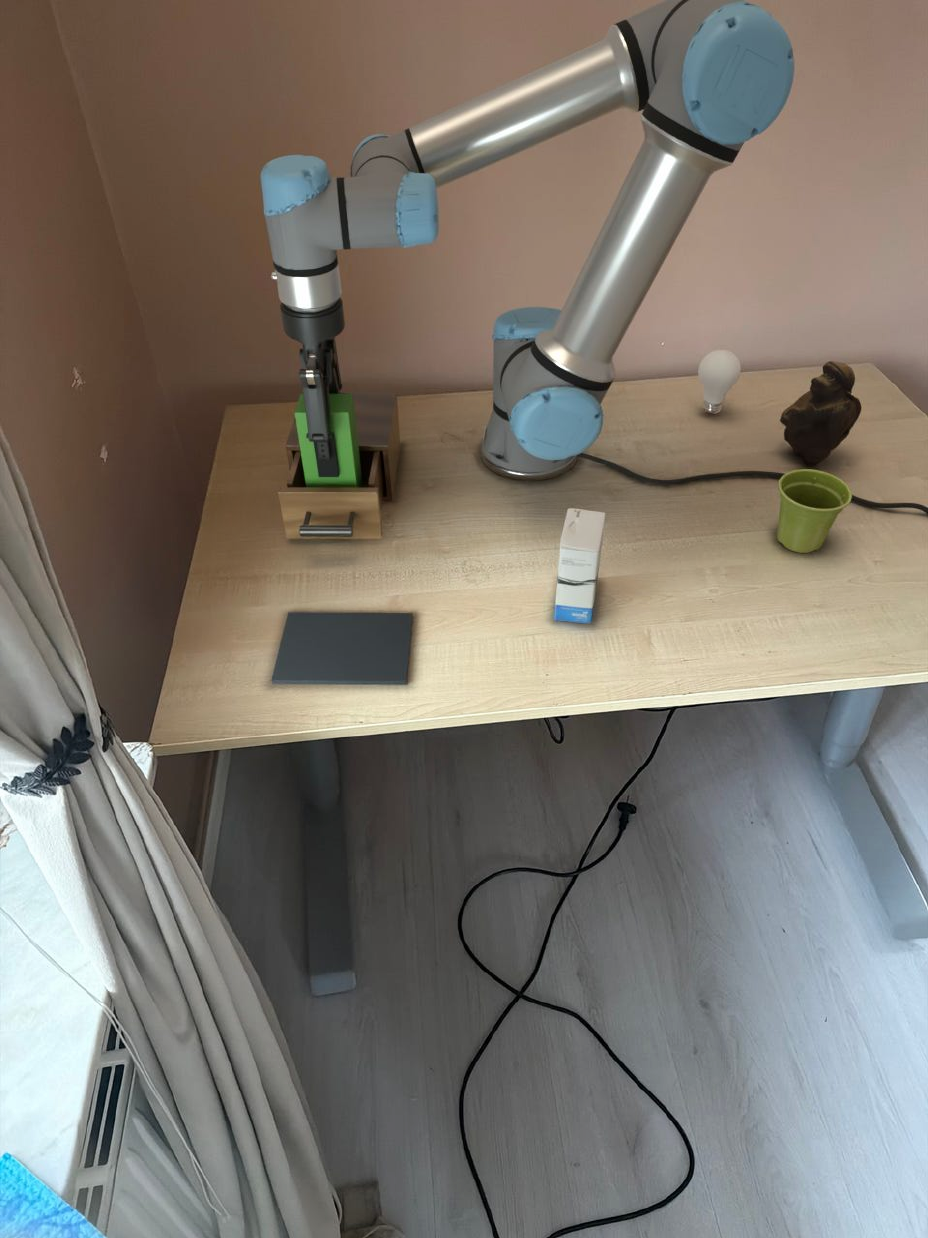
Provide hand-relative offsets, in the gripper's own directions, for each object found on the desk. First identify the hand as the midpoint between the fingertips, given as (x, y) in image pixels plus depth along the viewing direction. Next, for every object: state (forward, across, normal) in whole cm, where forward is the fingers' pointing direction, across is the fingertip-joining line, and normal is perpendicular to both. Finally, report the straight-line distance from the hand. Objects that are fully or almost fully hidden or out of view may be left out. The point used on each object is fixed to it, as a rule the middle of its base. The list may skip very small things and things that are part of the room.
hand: (332, 459), depth 124 cm
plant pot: (+10, +5, +65) cm, 66 cm away
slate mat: (+9, +28, +4) cm, 29 cm away
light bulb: (+11, -30, +59) cm, 67 cm away
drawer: (+9, +2, 0) cm, 9 cm away
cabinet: (+10, -12, 0) cm, 15 cm away
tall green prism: (+8, +1, 0) cm, 8 cm away
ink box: (+10, +18, +33) cm, 39 cm away
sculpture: (+10, -16, +72) cm, 74 cm away
